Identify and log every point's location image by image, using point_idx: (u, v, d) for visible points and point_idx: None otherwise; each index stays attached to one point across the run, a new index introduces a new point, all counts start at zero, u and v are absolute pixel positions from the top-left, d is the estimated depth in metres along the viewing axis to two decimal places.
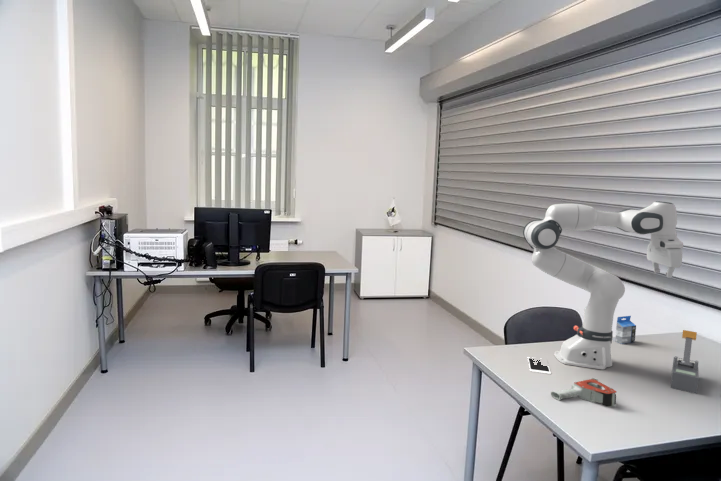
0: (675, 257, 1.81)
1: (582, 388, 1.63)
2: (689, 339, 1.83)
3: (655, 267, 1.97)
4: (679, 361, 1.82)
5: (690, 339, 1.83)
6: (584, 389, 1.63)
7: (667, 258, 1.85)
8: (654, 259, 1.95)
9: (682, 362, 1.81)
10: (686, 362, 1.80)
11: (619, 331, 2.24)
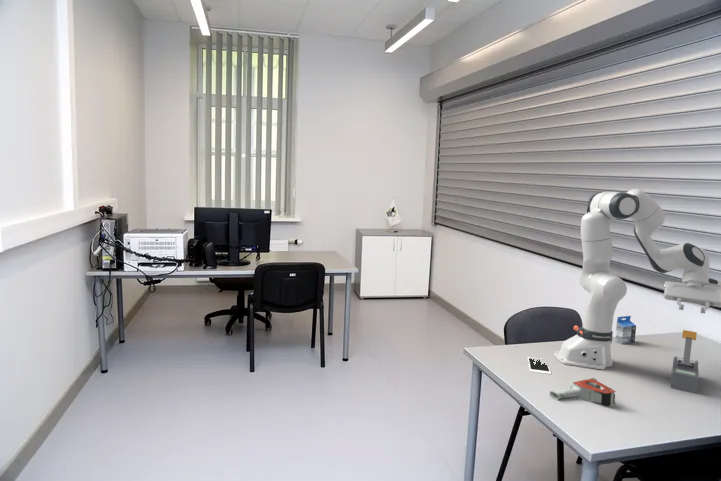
0: None
1: (581, 388, 1.63)
2: (689, 339, 1.83)
3: None
4: (679, 361, 1.82)
5: (690, 339, 1.83)
6: (583, 389, 1.63)
7: (714, 295, 1.88)
8: (684, 294, 1.92)
9: (682, 362, 1.81)
10: (686, 362, 1.80)
11: (619, 331, 2.24)
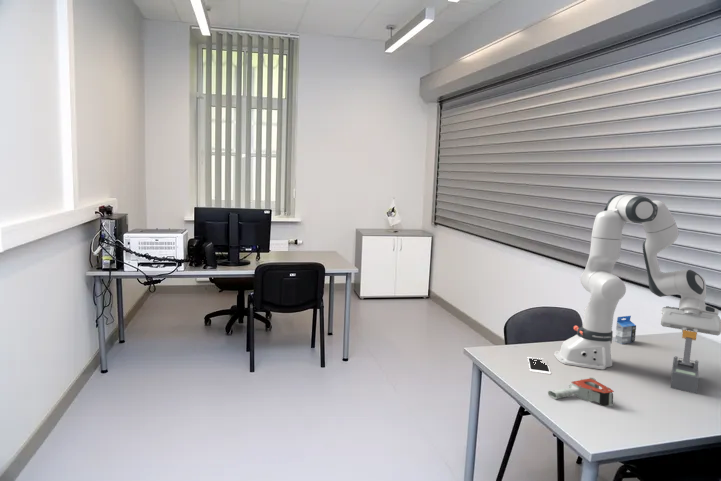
0: None
1: (579, 387, 1.64)
2: (689, 339, 1.83)
3: None
4: (679, 361, 1.82)
5: (690, 339, 1.83)
6: (581, 388, 1.63)
7: (711, 323, 1.87)
8: (681, 322, 1.91)
9: (682, 362, 1.81)
10: (686, 362, 1.80)
11: (619, 331, 2.24)
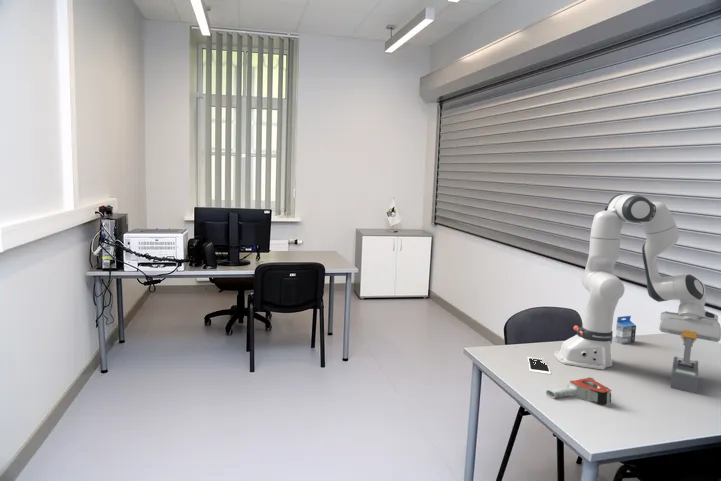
0: None
1: (577, 387, 1.64)
2: (689, 339, 1.83)
3: None
4: (679, 361, 1.82)
5: (690, 339, 1.83)
6: (579, 388, 1.64)
7: (711, 329, 1.83)
8: (680, 328, 1.88)
9: (682, 362, 1.81)
10: (686, 362, 1.80)
11: (619, 331, 2.24)
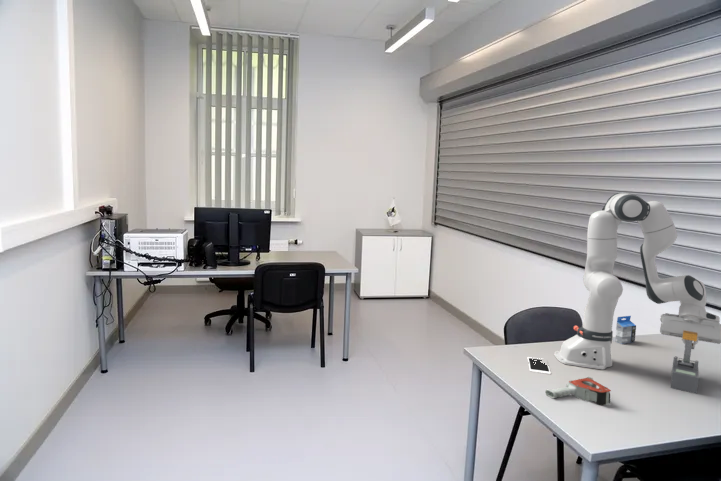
0: None
1: (576, 387, 1.64)
2: (689, 341, 1.78)
3: None
4: (679, 362, 1.81)
5: (690, 341, 1.78)
6: (578, 388, 1.64)
7: (713, 331, 1.79)
8: (681, 330, 1.84)
9: (682, 363, 1.81)
10: (686, 363, 1.80)
11: (619, 331, 2.24)
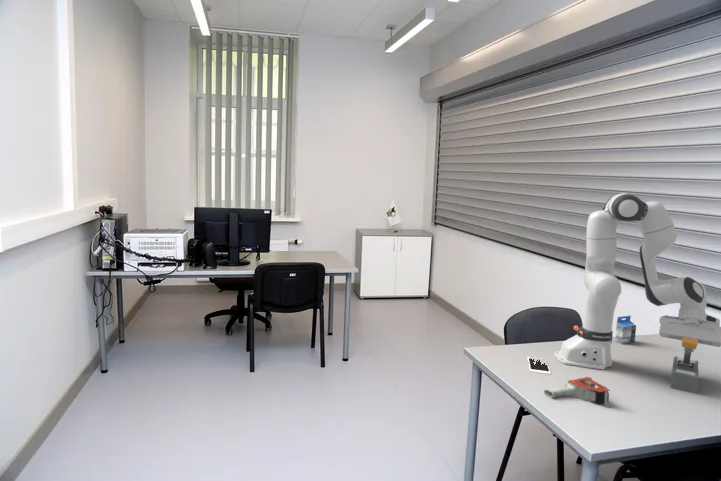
0: None
1: (575, 386, 1.64)
2: (689, 348, 1.75)
3: None
4: (679, 363, 1.81)
5: (690, 348, 1.75)
6: (577, 387, 1.64)
7: (712, 333, 1.77)
8: (680, 333, 1.81)
9: (682, 364, 1.81)
10: (686, 364, 1.80)
11: (619, 331, 2.24)
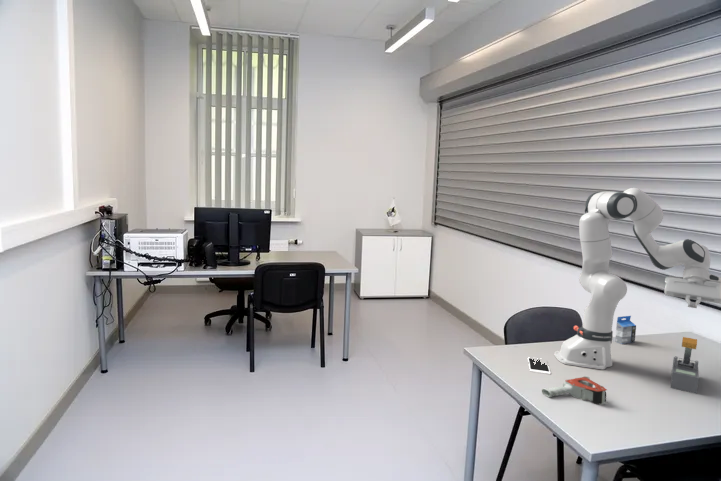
0: None
1: (573, 386, 1.65)
2: (689, 348, 1.75)
3: None
4: (679, 363, 1.81)
5: (690, 348, 1.75)
6: (575, 387, 1.64)
7: (715, 291, 1.87)
8: (685, 290, 1.92)
9: (682, 364, 1.81)
10: (686, 364, 1.80)
11: (619, 331, 2.24)
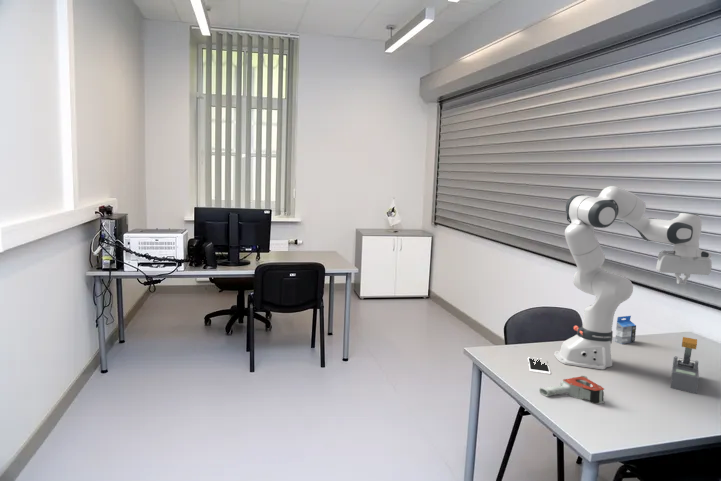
0: None
1: (570, 385, 1.65)
2: (689, 348, 1.75)
3: None
4: (679, 363, 1.81)
5: (690, 348, 1.75)
6: (572, 386, 1.65)
7: (703, 267, 1.96)
8: (677, 270, 1.97)
9: (682, 364, 1.81)
10: (686, 364, 1.80)
11: (619, 331, 2.24)
